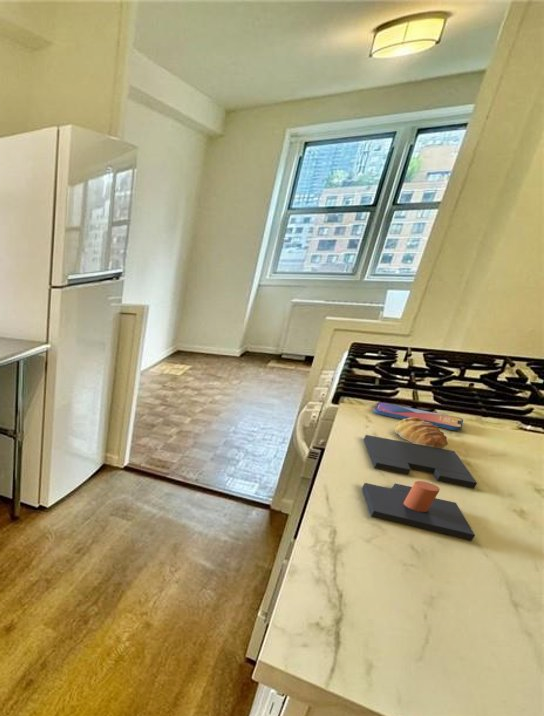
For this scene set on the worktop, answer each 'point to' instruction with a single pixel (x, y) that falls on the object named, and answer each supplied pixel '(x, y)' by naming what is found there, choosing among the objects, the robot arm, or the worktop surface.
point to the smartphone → (419, 415)
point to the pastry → (421, 432)
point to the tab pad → (405, 516)
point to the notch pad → (418, 460)
